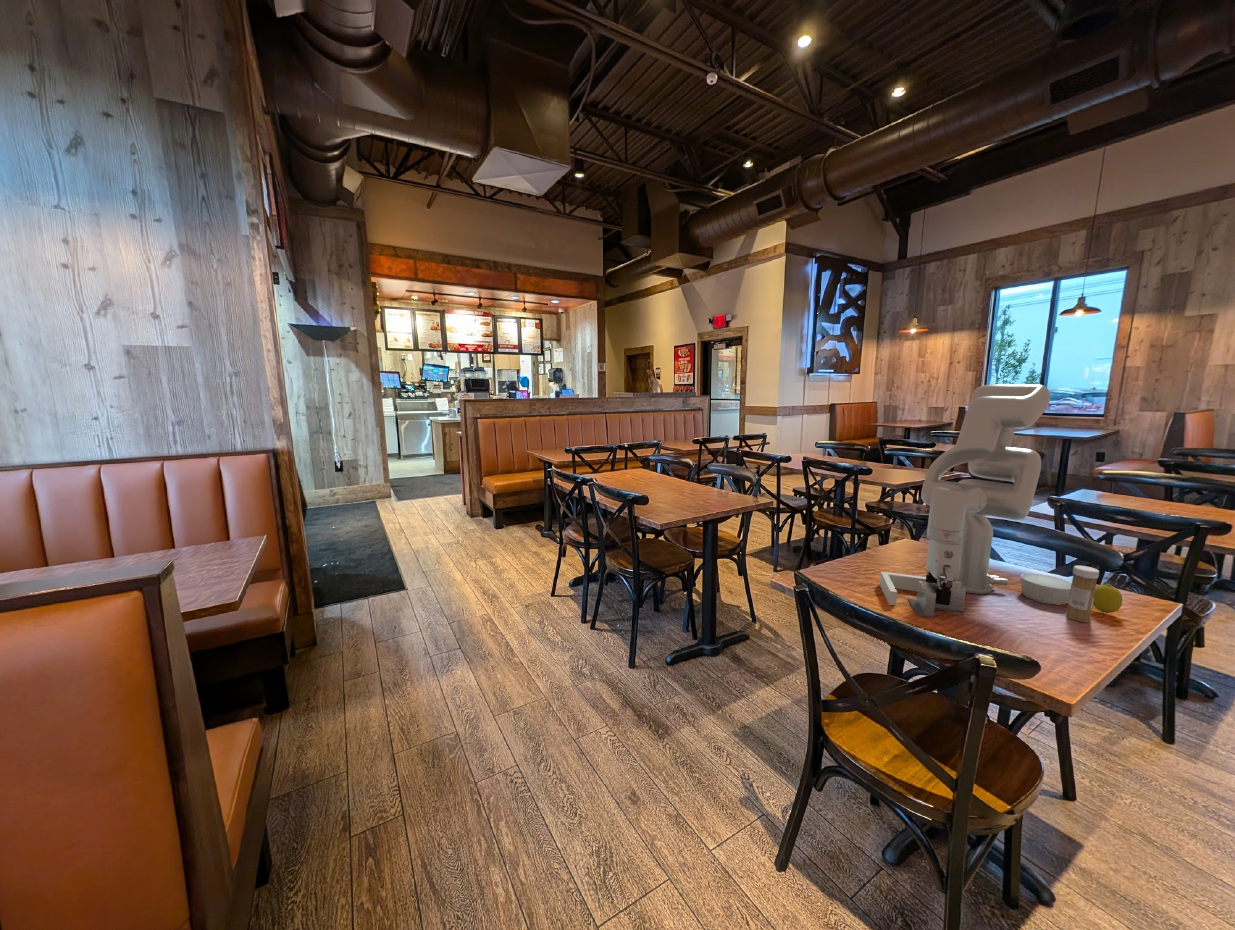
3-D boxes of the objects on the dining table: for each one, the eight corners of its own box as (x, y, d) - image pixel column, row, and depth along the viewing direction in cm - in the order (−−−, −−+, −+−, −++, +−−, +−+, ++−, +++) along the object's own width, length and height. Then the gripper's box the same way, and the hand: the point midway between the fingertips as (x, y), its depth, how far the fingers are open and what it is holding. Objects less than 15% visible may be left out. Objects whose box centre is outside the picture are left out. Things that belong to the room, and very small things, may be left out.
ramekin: (1011, 587, 138) (1014, 570, 137) (1060, 593, 134) (1063, 576, 133) (1027, 603, 128) (1030, 584, 127) (1080, 610, 123) (1083, 591, 123)
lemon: (1114, 620, 118) (1120, 590, 117) (1085, 611, 123) (1090, 582, 122) (1123, 615, 121) (1128, 586, 119) (1094, 607, 125) (1099, 578, 124)
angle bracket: (960, 608, 123) (963, 586, 122) (971, 622, 116) (974, 599, 115) (916, 602, 127) (919, 581, 126) (924, 615, 119) (926, 592, 118)
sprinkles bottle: (1095, 622, 117) (1104, 570, 115) (1081, 624, 116) (1090, 572, 114) (1073, 613, 122) (1082, 564, 119) (1060, 615, 121) (1068, 565, 118)
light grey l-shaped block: (958, 594, 132) (959, 581, 132) (976, 618, 119) (979, 603, 118) (879, 584, 139) (880, 571, 138) (888, 605, 125) (890, 591, 125)
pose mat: (959, 606, 125) (959, 605, 125) (973, 624, 116) (973, 622, 116) (907, 599, 129) (907, 598, 129) (916, 615, 120) (916, 614, 120)
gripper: (973, 546, 113) (964, 613, 115) (951, 526, 129) (943, 586, 131) (937, 542, 115) (928, 608, 118) (919, 523, 131) (912, 582, 134)
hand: (936, 596), depth 125 cm, fingers open, 9 cm apart
